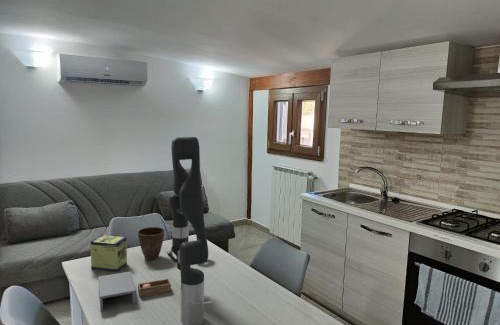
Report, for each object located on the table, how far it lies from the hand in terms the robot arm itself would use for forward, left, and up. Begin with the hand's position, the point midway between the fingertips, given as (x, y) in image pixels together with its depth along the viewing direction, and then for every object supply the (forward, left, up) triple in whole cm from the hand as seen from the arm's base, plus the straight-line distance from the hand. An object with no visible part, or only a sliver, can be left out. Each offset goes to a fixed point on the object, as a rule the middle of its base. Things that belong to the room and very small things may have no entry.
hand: (180, 269), depth 168 cm
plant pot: (+42, +7, -10) cm, 43 cm away
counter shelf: (+3, +29, -9) cm, 30 cm away
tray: (0, +12, -9) cm, 15 cm away
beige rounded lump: (0, +16, -9) cm, 18 cm away
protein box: (+38, +30, -10) cm, 49 cm away
